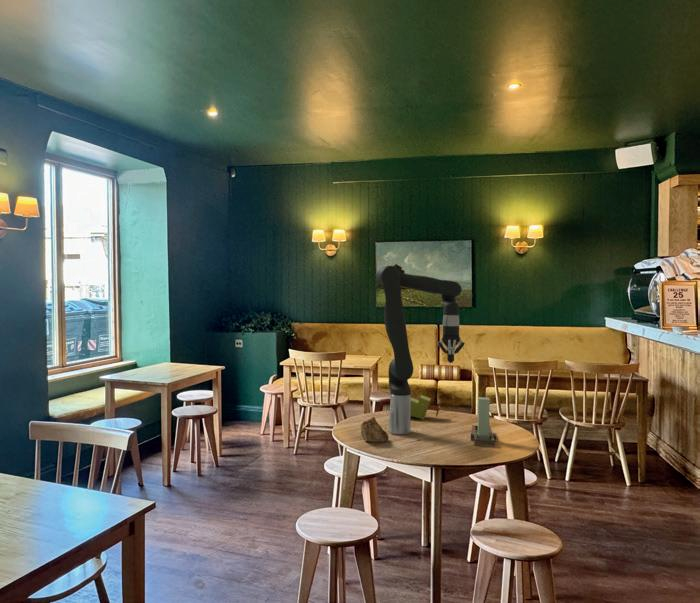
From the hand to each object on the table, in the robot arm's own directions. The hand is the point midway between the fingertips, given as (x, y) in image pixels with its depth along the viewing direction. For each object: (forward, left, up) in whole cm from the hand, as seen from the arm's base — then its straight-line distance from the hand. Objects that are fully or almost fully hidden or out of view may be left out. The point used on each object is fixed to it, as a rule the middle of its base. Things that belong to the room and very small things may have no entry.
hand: (450, 362), depth 234 cm
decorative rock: (-38, -18, -31) cm, 52 cm away
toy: (-10, +23, -31) cm, 40 cm away
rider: (+9, -19, -31) cm, 38 cm away
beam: (+10, -16, -31) cm, 36 cm away
